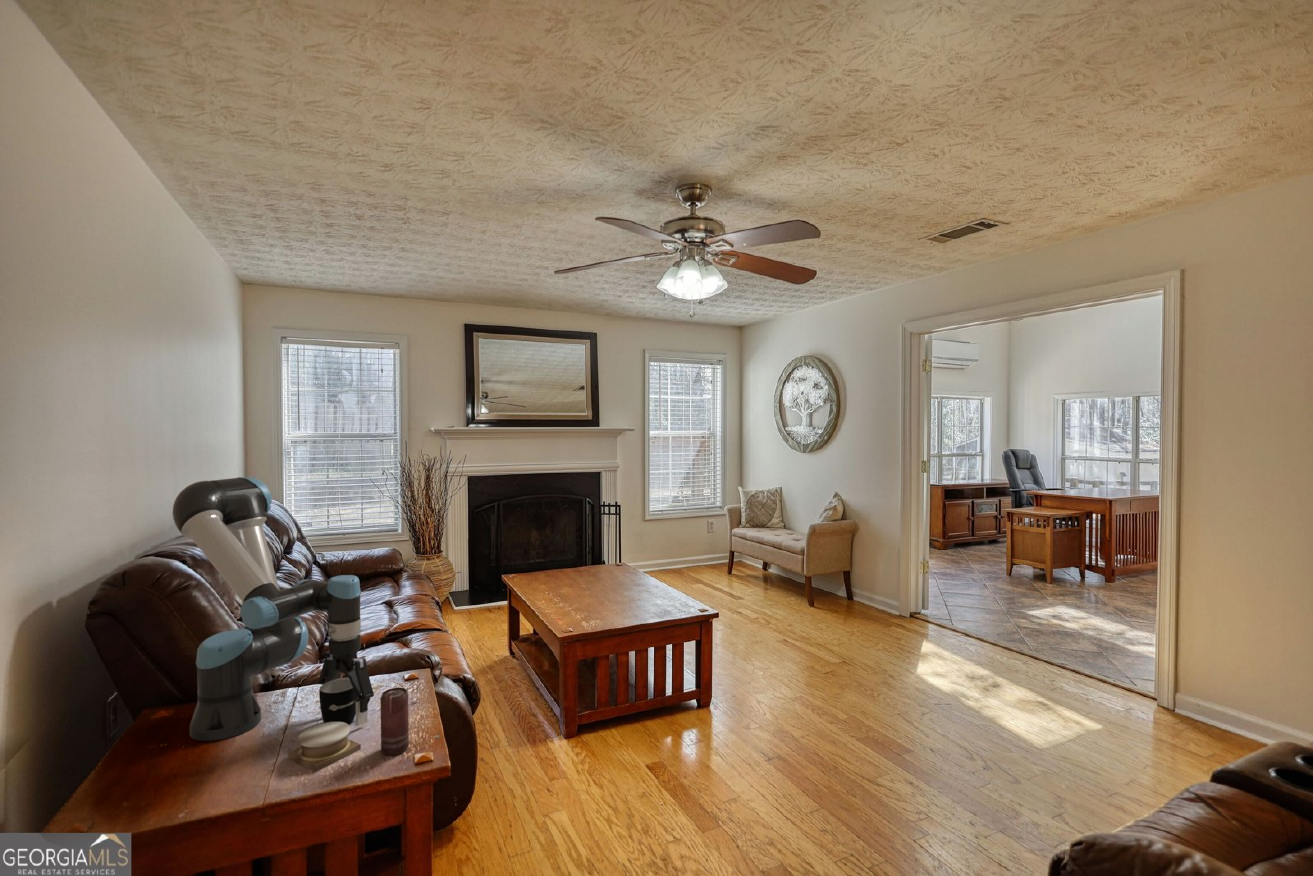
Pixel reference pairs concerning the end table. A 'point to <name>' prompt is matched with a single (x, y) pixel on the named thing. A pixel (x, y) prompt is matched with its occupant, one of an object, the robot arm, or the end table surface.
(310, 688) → the end table surface
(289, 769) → the end table surface
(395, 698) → the can
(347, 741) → the stand
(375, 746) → the end table surface
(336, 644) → the robot arm
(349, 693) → the mug
